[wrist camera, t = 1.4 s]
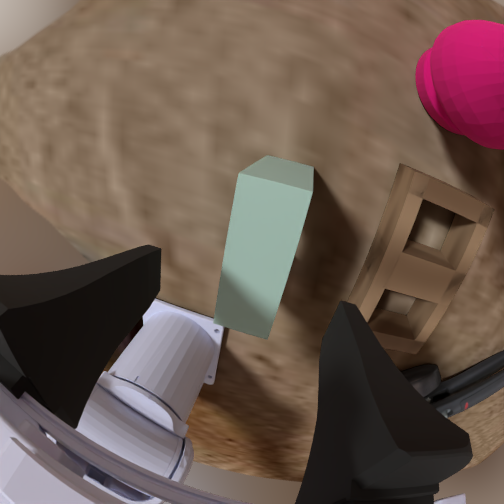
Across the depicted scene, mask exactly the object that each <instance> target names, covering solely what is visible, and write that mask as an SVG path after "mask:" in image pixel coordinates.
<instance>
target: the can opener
mask: <svg viewBox="0 0 504 504" xmlns="http://www.w3.org/2000/svg"><path fill="white" fill-rule="evenodd" d="M503 367H504V351H502V352H499V353H497V354H495V355H493V356H491V357H489V358H488V359H486V360H484V361H482V362H480V363H478V364H477V365H475V366H473V367H472V368H470V369H468V370H466V371H465V372H463V373H461V374H459V375H457V376H455V377H453V378H451V379H449V380H446V381H443V382H441V376H440V373H439V369H438V366H436V365H432V364H431V365H422V366H418V367H414V368H411V369H408V370H405V371H403V372H401V373H402V374H403V375H404V377H405V378H406V379H407V380H408V382H409V383H410V384H411V385H412V386H413V387H414V388H415V389H416V390H417V391H418V392H419V393H420V394H421V395H422V396H423V397H424V398H425V399H426V400H427V401H428V402H429V403H430V404H431V405H432V406H433V407H434V408H435V409H436V410H438V411H439V412H440V413H441V414H442V415H444V416H445V417H446V418H448V417H451V416H453V415H455V414H457V413H460V412H462V411H464V410H466V409H468V408H470V407H472V406H474V405H476V404H478V403H479V402H481V401H483V400H485V399H486V398H488V397H489V396H491V395H493V394H494V393H496V392H497V391H499V390H500V389H501V388H503V387H504V369H503V370H501V371H499V370H500V369H502V368H503ZM498 371H499V372H498ZM496 372H498V373H496ZM494 373H496V374H494ZM493 374H494V375H493ZM491 375H492V376H491ZM488 377H489V378H488ZM486 378H487V379H486Z"/></svg>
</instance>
